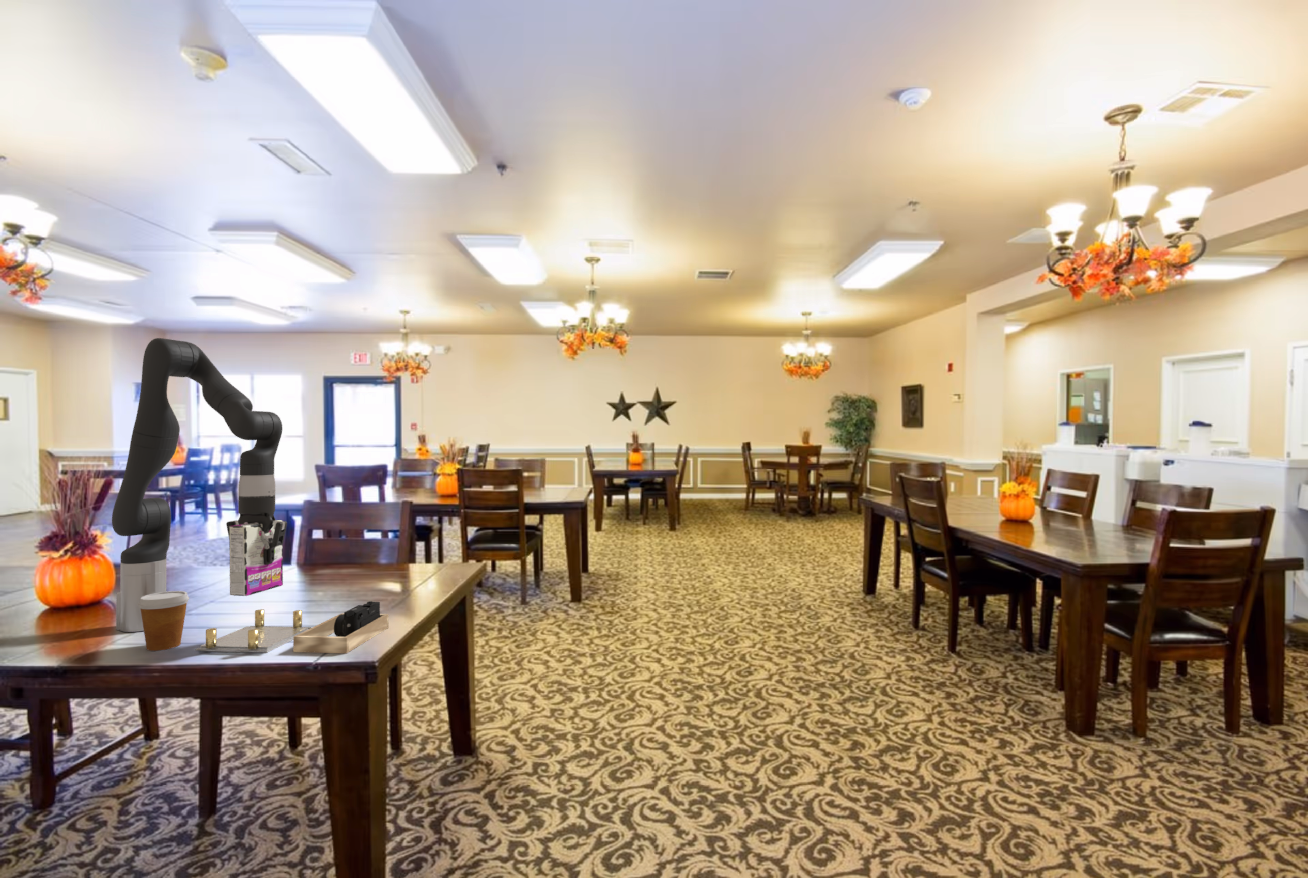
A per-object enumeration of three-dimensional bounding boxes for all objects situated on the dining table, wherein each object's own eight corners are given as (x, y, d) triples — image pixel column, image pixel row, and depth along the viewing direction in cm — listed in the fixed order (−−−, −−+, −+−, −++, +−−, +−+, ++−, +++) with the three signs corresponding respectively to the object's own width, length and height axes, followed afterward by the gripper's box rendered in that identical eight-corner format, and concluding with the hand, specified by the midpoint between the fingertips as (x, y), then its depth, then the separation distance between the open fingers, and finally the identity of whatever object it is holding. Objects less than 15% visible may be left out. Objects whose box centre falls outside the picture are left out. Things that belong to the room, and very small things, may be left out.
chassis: (195, 653, 141) (195, 630, 141) (251, 629, 159) (251, 609, 159) (262, 654, 140) (262, 631, 140) (311, 630, 158) (311, 610, 158)
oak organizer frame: (293, 652, 142) (293, 636, 142) (341, 626, 162) (341, 613, 162) (346, 653, 141) (346, 637, 141) (388, 627, 161) (388, 614, 161)
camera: (357, 627, 161) (357, 596, 161) (384, 628, 161) (384, 597, 161) (326, 645, 147) (326, 611, 147) (355, 646, 146) (355, 612, 146)
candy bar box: (266, 584, 156) (266, 519, 156) (283, 585, 155) (284, 519, 155) (227, 595, 145) (228, 525, 145) (245, 596, 144) (246, 525, 144)
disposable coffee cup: (147, 656, 139) (147, 602, 139) (130, 648, 144) (130, 596, 144) (196, 644, 147) (196, 593, 147) (178, 637, 152) (179, 588, 152)
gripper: (216, 494, 147) (216, 566, 146) (275, 495, 146) (274, 567, 146) (239, 492, 154) (239, 560, 154) (295, 492, 153) (295, 561, 153)
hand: (256, 563), depth 150 cm, fingers closed on candy bar box, 5 cm apart
